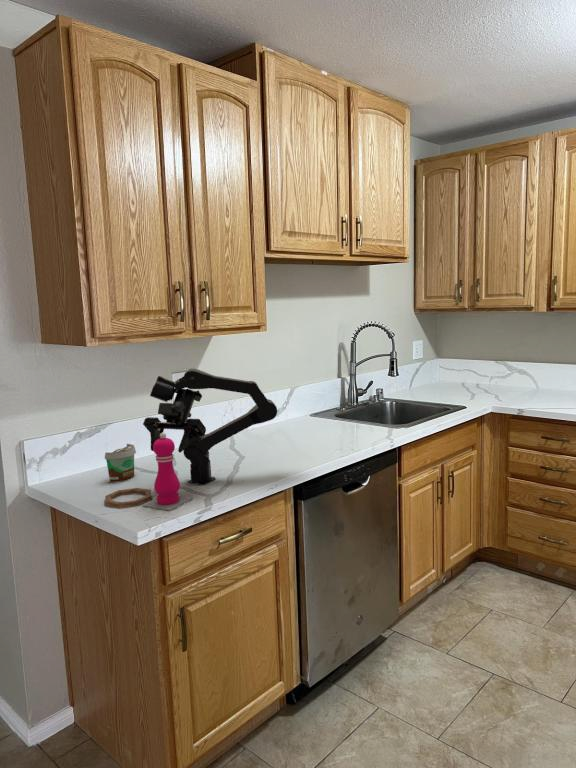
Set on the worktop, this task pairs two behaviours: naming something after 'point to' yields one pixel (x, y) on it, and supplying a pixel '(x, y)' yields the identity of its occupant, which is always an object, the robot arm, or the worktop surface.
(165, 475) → the pepper mill
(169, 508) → the slate mat
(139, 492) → the walnut holder ring
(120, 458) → the food container
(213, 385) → the robot arm
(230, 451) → the worktop surface
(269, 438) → the worktop surface
